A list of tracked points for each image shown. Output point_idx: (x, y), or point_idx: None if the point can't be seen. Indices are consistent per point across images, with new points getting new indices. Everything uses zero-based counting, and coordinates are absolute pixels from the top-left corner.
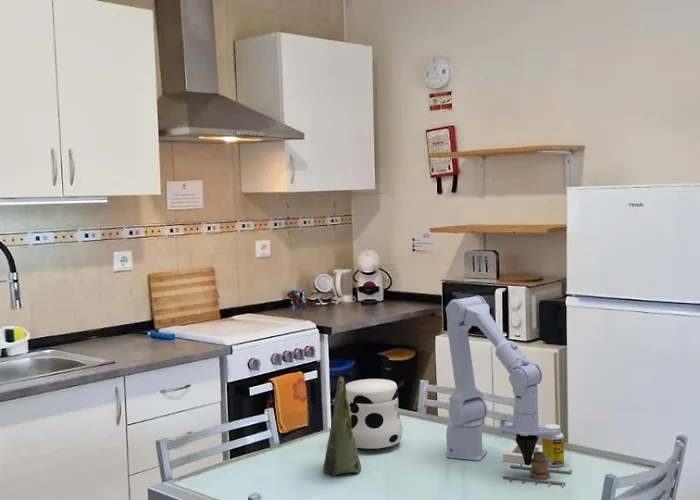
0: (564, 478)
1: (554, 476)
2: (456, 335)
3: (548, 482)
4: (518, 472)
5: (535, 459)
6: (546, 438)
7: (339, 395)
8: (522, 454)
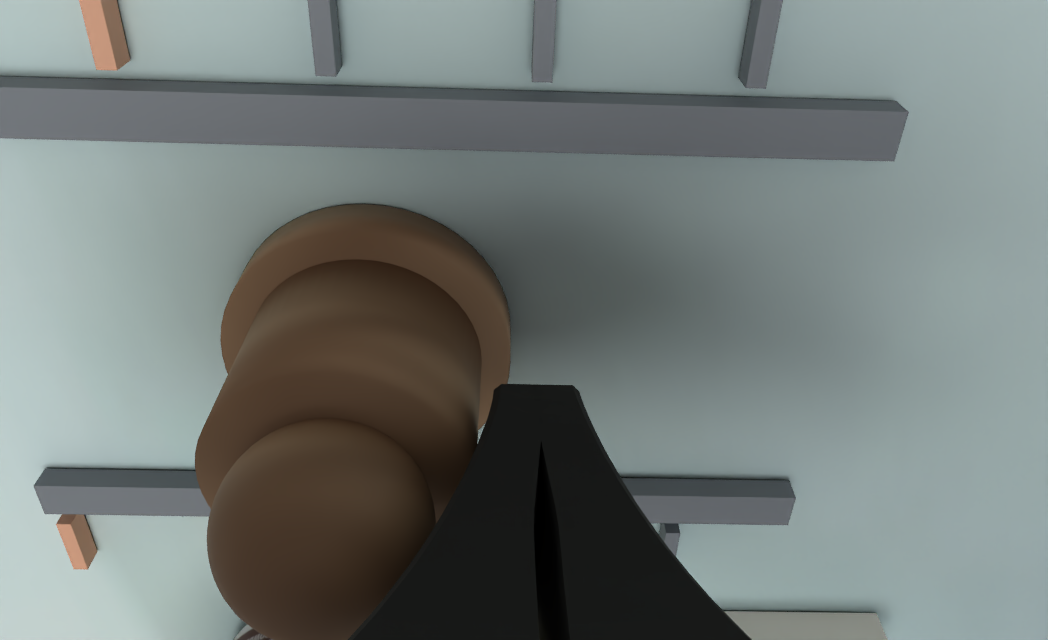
0: (49, 340)
1: (196, 370)
2: None
3: (145, 88)
4: (675, 380)
5: (369, 447)
6: None
7: None
8: (628, 497)
